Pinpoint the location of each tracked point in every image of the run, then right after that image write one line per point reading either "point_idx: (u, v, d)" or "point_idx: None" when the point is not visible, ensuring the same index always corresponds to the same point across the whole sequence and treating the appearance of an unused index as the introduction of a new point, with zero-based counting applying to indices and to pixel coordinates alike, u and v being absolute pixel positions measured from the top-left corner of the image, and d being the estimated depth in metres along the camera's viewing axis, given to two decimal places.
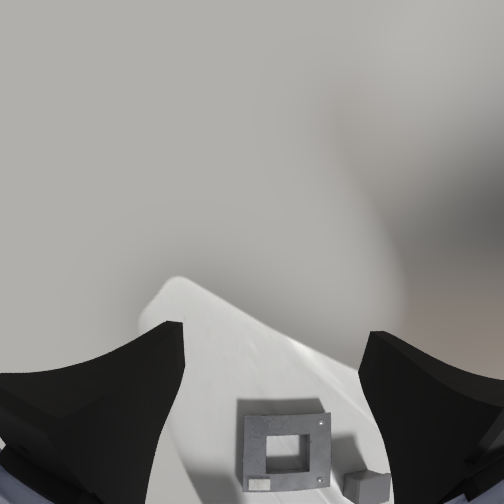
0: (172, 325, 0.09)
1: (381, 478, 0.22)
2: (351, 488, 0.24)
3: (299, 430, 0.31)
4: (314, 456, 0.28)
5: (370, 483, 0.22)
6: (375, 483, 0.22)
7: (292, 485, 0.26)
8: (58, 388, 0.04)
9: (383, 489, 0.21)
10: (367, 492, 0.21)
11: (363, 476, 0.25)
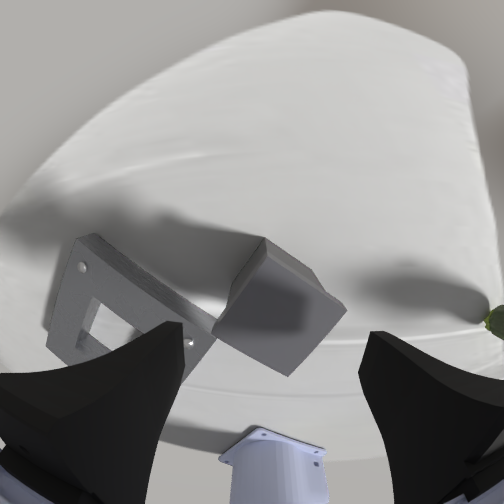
0: (172, 325, 0.09)
1: (254, 287, 0.12)
2: None
3: (80, 304, 0.17)
4: (134, 319, 0.17)
5: (240, 318, 0.12)
6: (253, 308, 0.12)
7: None
8: (58, 388, 0.04)
9: (296, 302, 0.12)
10: (261, 337, 0.12)
11: (240, 286, 0.15)
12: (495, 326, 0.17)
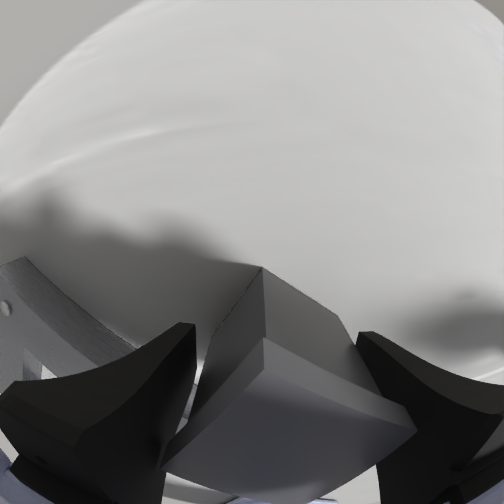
0: (185, 327, 0.09)
1: (233, 423, 0.04)
2: None
3: (14, 353, 0.10)
4: None
5: (209, 460, 0.05)
6: (235, 451, 0.05)
7: None
8: (76, 395, 0.04)
9: (328, 439, 0.04)
10: (252, 480, 0.05)
11: (216, 369, 0.08)
12: None
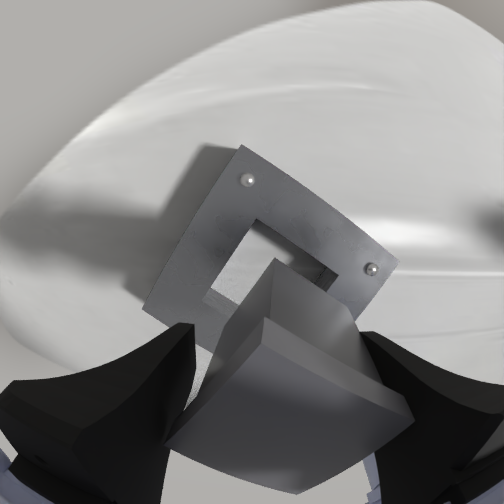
0: (185, 327, 0.09)
1: (232, 397, 0.05)
2: None
3: (231, 232, 0.15)
4: (314, 244, 0.16)
5: (210, 436, 0.05)
6: (234, 427, 0.05)
7: None
8: (76, 394, 0.04)
9: (324, 420, 0.05)
10: (251, 460, 0.05)
11: (225, 352, 0.08)
12: None
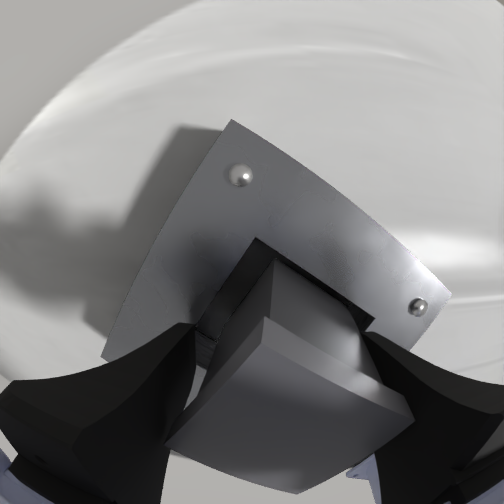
0: (185, 326, 0.09)
1: (232, 397, 0.05)
2: None
3: (216, 259, 0.10)
4: (344, 276, 0.10)
5: (210, 436, 0.05)
6: (234, 427, 0.05)
7: None
8: (76, 394, 0.04)
9: (324, 420, 0.05)
10: (251, 460, 0.05)
11: (225, 352, 0.08)
12: None
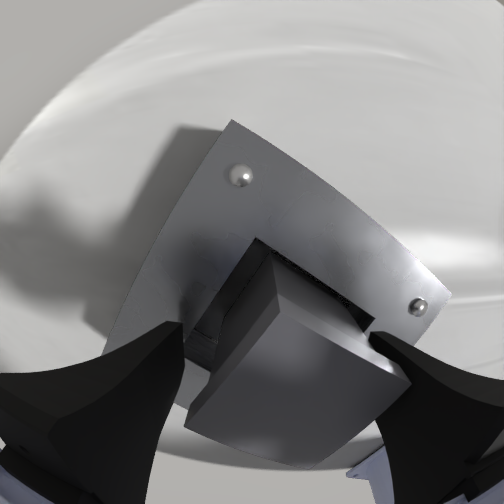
0: (172, 325, 0.09)
1: (253, 367, 0.06)
2: None
3: (216, 259, 0.10)
4: (344, 276, 0.10)
5: (231, 410, 0.06)
6: (254, 398, 0.06)
7: None
8: (58, 388, 0.04)
9: (333, 384, 0.06)
10: (268, 433, 0.06)
11: (233, 337, 0.09)
12: None
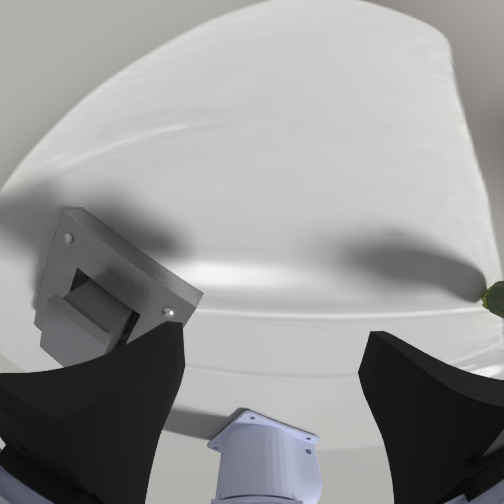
0: (172, 325, 0.09)
1: (47, 318, 0.13)
2: None
3: (66, 276, 0.17)
4: (116, 288, 0.17)
5: (48, 338, 0.13)
6: (52, 333, 0.13)
7: None
8: (58, 388, 0.04)
9: (71, 332, 0.13)
10: (62, 353, 0.14)
11: None
12: (493, 303, 0.17)
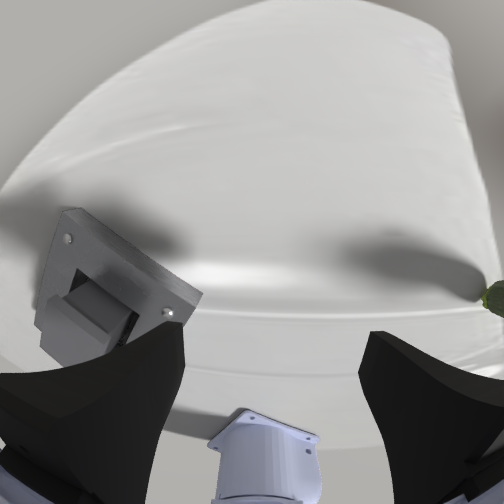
0: (172, 325, 0.09)
1: (47, 319, 0.13)
2: None
3: (65, 277, 0.17)
4: (116, 289, 0.17)
5: (48, 338, 0.13)
6: (51, 333, 0.13)
7: None
8: (58, 388, 0.04)
9: (70, 332, 0.13)
10: (62, 353, 0.14)
11: None
12: (493, 303, 0.17)
